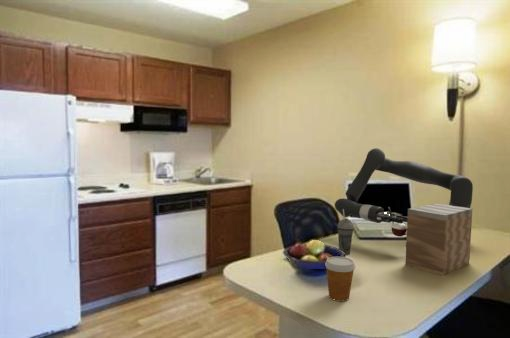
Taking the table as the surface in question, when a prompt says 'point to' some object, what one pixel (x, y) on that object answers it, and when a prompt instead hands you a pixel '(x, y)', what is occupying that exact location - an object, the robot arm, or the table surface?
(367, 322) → the table surface
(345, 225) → the beverage cup
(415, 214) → the under counter cubby
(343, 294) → the disposable coffee cup
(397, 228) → the cream-topped red cup
